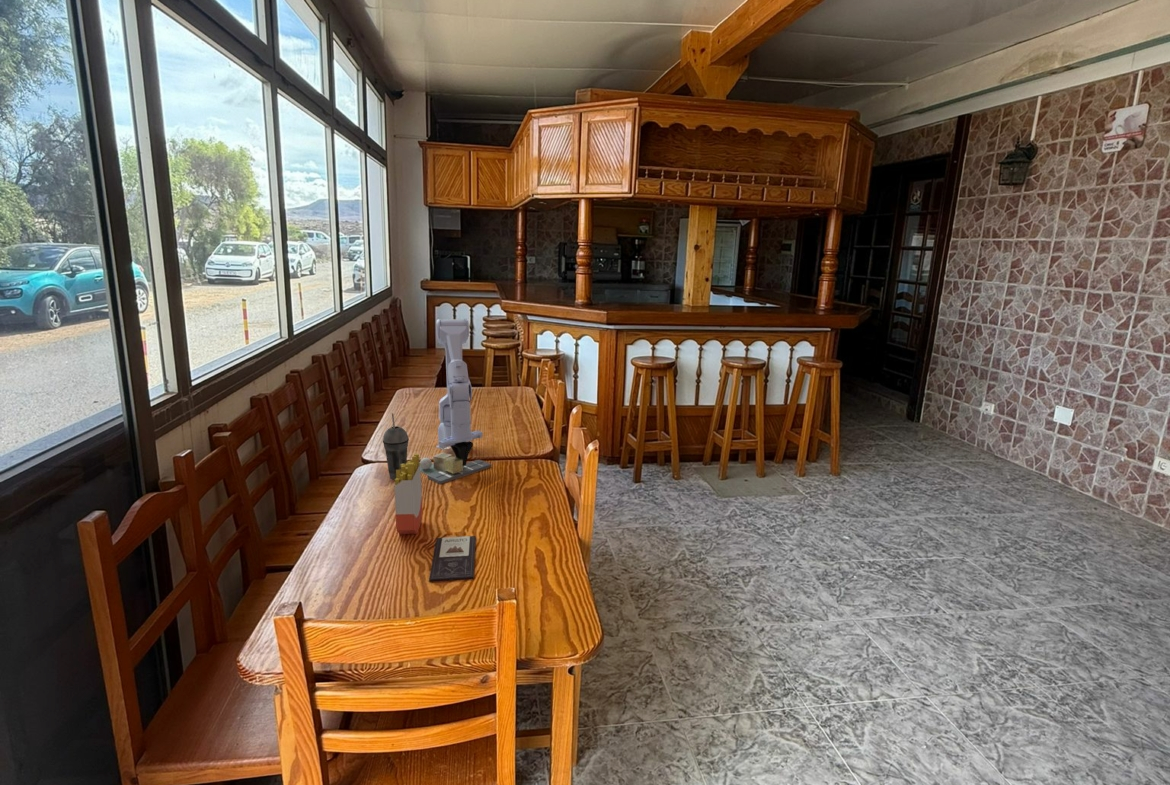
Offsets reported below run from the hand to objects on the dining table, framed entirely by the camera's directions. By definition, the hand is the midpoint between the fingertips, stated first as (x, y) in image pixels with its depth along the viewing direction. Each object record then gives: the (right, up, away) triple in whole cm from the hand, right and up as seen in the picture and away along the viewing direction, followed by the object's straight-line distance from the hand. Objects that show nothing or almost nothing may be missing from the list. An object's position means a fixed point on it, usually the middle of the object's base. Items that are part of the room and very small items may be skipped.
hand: (462, 465), depth 181 cm
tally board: (0, -2, 0) cm, 2 cm away
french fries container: (-6, -11, -35) cm, 37 cm away
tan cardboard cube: (-2, -1, -2) cm, 3 cm away
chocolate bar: (+8, -15, -48) cm, 51 cm away
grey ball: (-11, -1, +2) cm, 12 cm away
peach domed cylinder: (-5, 0, +8) cm, 10 cm away
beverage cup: (-18, -3, -4) cm, 19 cm away
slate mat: (-7, -1, +4) cm, 9 cm away
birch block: (-6, -1, +3) cm, 7 cm away
